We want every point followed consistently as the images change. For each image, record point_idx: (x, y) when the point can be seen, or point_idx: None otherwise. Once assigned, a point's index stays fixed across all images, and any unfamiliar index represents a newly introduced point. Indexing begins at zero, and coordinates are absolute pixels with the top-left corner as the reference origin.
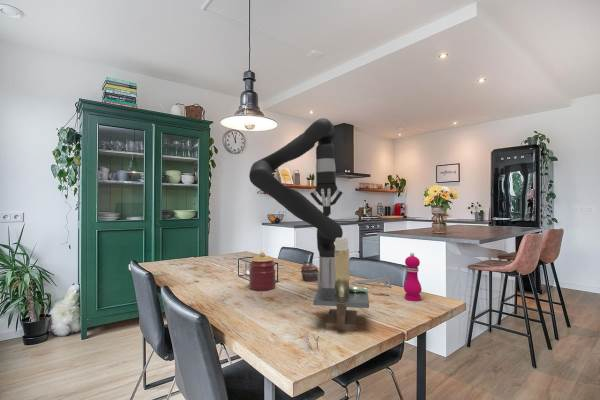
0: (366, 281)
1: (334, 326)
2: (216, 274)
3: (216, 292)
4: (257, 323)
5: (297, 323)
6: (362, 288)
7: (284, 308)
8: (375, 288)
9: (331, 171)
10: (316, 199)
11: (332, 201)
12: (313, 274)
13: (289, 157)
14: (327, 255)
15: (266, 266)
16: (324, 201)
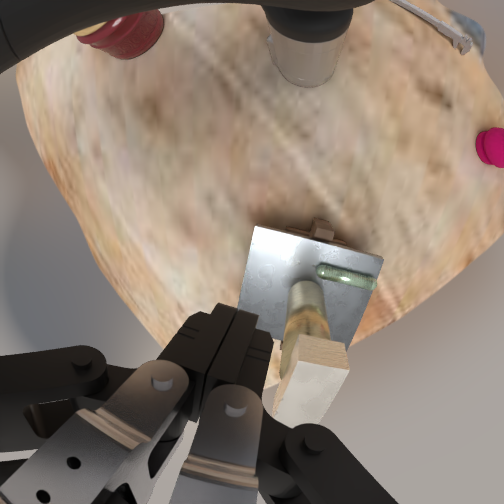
0: (414, 11)
1: None
2: None
3: (61, 89)
4: (147, 261)
5: (215, 269)
6: (364, 288)
7: (185, 179)
8: (430, 47)
9: None
10: (39, 431)
11: (267, 501)
12: None
13: None
14: (298, 37)
15: (110, 34)
16: (148, 467)
